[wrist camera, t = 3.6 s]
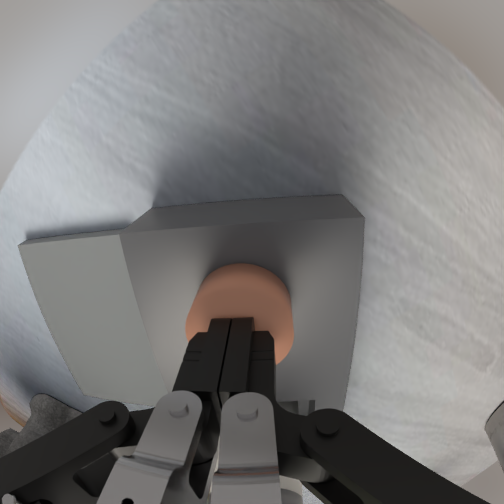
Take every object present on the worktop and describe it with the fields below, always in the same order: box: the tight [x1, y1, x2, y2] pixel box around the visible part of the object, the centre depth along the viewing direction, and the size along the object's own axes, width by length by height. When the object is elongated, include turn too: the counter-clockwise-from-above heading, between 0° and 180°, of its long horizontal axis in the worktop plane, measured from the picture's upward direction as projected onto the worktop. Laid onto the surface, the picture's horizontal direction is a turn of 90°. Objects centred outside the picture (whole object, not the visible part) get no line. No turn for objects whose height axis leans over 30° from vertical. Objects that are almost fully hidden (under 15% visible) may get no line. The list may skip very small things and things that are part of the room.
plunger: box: [185, 263, 294, 365], centre depth 13 cm, size 4×4×4 cm
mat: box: [18, 229, 168, 406], centre depth 19 cm, size 9×14×1 cm, turn 5°
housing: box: [119, 195, 365, 416], centre depth 17 cm, size 10×18×4 cm, turn 5°
